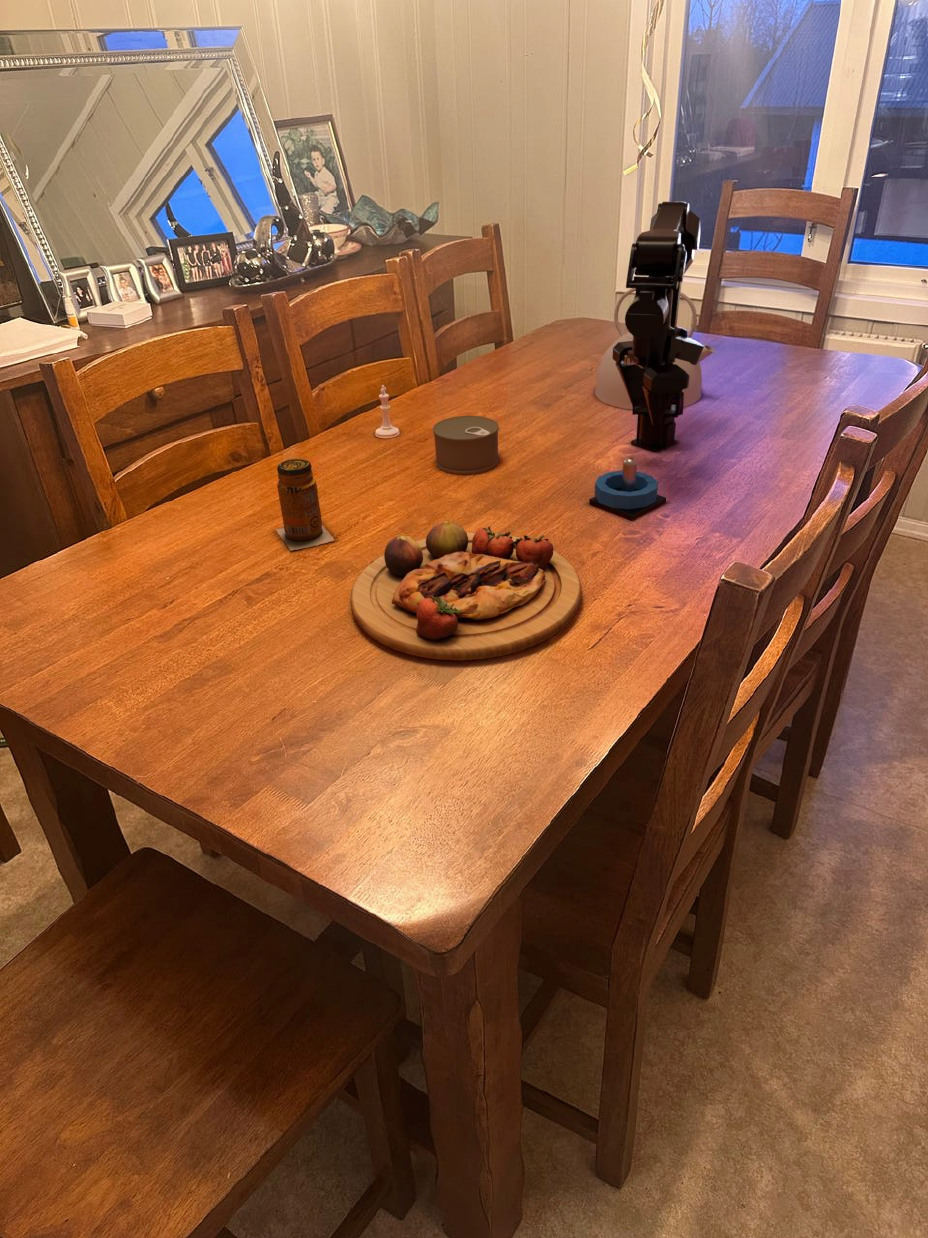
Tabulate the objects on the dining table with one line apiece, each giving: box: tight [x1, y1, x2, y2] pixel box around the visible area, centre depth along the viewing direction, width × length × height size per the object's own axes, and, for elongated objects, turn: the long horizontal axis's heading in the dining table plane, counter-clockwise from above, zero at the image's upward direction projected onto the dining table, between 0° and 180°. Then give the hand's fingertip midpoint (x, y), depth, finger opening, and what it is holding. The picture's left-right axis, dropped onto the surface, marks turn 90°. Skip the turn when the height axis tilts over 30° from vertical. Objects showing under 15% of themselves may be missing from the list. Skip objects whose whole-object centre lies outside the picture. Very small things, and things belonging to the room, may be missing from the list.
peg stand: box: [588, 456, 667, 521], centre depth 142 cm, size 9×9×8 cm
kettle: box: [595, 288, 715, 411], centre depth 184 cm, size 25×23×22 cm
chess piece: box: [374, 384, 401, 439], centre depth 174 cm, size 5×5×10 cm
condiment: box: [275, 458, 336, 551], centre depth 137 cm, size 7×8×12 cm
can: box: [432, 415, 500, 476], centre depth 161 cm, size 12×12×7 cm
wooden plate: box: [349, 519, 583, 661], centre depth 119 cm, size 32×32×8 cm
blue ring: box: [594, 469, 659, 509], centre depth 144 cm, size 10×10×2 cm
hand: (645, 415), depth 146 cm, fingers open, 9 cm apart
